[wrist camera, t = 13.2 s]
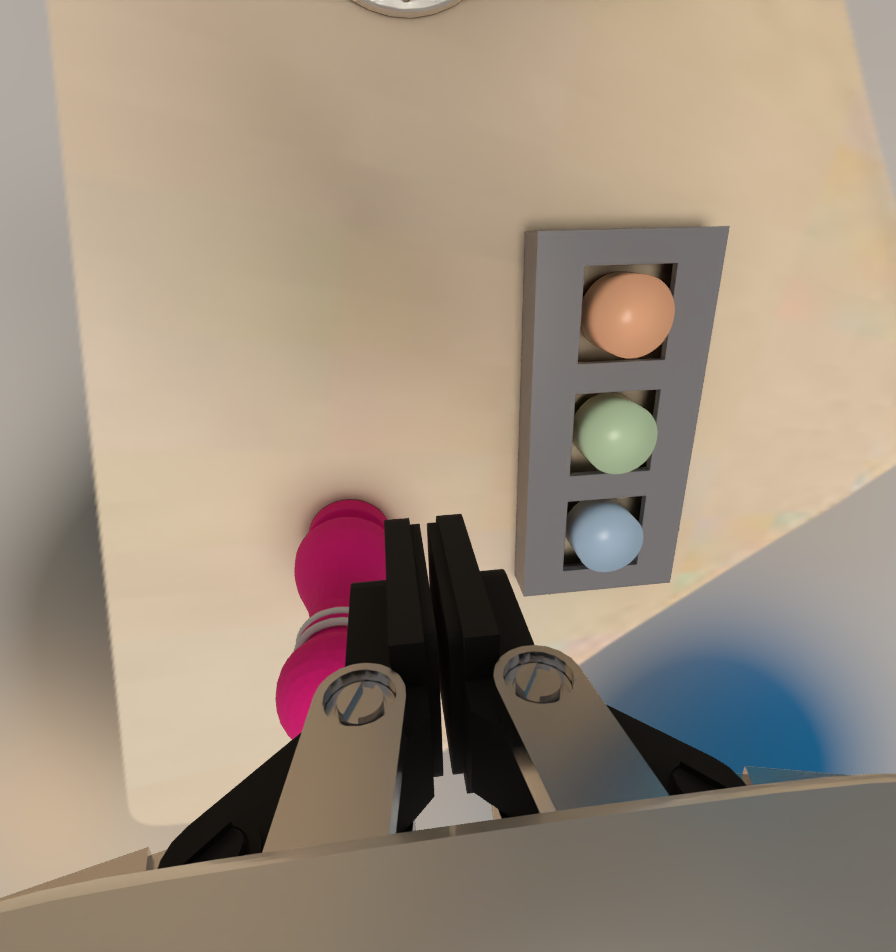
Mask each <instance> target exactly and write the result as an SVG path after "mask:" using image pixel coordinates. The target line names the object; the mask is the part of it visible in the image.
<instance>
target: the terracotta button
mask: <svg viewBox="0 0 896 952" xmlns="http://www.w3.org/2000/svg"><path fill="white" fill-rule="evenodd" d="M674 315H675V305H674V299H673V296H672V294H671V292H670V290H669V288H668V287H667V286H666V284H665V283H664V282H662V281H661V280H660V279H658V278H656V277H654V276H651V275H646V274H638V273H630V272H614V273H610V274H607V275H605V276H603V277H601V278H600V279H598V280H597V281H596V282H595V283H594V284H593V285H592V286H591V287H590V288H589V289H588V291H587V292H586V294H585V296H584V298H583V301H582V311H581V324H580V325H581V329H582V331H583V333H584V335H585V337H586V338H587V339H588V340H589V341H590V342H591V343H592V344H593V345H595V346H597V347H599V348H601V349H603V350H605V351H607V352H609V353H611V354H613V355H616V356H618V357H621V358H638V357H641V356H644V355H646V354H648V353H650V352H652V351H653V350H655V349H656V348H657V347H658V346H659V345H660V344H661V343H662V342H663V341H664V339H665V338H666V337H667V335H668V333H669V332H670V329H671V327H672V324H673V321H674Z"/></svg>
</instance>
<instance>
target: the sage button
mask: <svg viewBox="0 0 896 952" xmlns="http://www.w3.org/2000/svg"><path fill="white" fill-rule="evenodd" d="M657 434H658V432H657V425H656V422H655V420H654V418H653V416H652V415H651V414H650V413H649V412H648V411H647V410H646V409H644V408H643V407H641V406H639V405H638V404H636V403H635V402H633V401H631V400H630V399H628V398H627V397H625V396H623V395H621V394H617V393H602V394H598V395H596V396H594V397H592V398H590V399H589V400H587V401H586V402H585V403H584V404H583V405H582V406H581V407H580V408H579V409H578V411H577V412H576V414H575V416H574V422H573V436H572V439H573V442H574V444H575V446H576V447H577V449H578V450H579V451H580V452H581V453H582V454H583V455H584V456H585V457H586V458H587V459H588V460H589V461H590V462H591V463H592V464H593V465H594V466H595V467H596V468H597V469H599V470H600V471H602V472H605V473H608V474H623V473H627V472H630V471H632V470H634V469H636V468H637V467H639V466H640V465H642V464H643V463H644V462H645V461H646V460H647V459H648V458H649V456H650V455H651V453H652V452H653V450H654V448H655V445H656V441H657Z"/></svg>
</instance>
